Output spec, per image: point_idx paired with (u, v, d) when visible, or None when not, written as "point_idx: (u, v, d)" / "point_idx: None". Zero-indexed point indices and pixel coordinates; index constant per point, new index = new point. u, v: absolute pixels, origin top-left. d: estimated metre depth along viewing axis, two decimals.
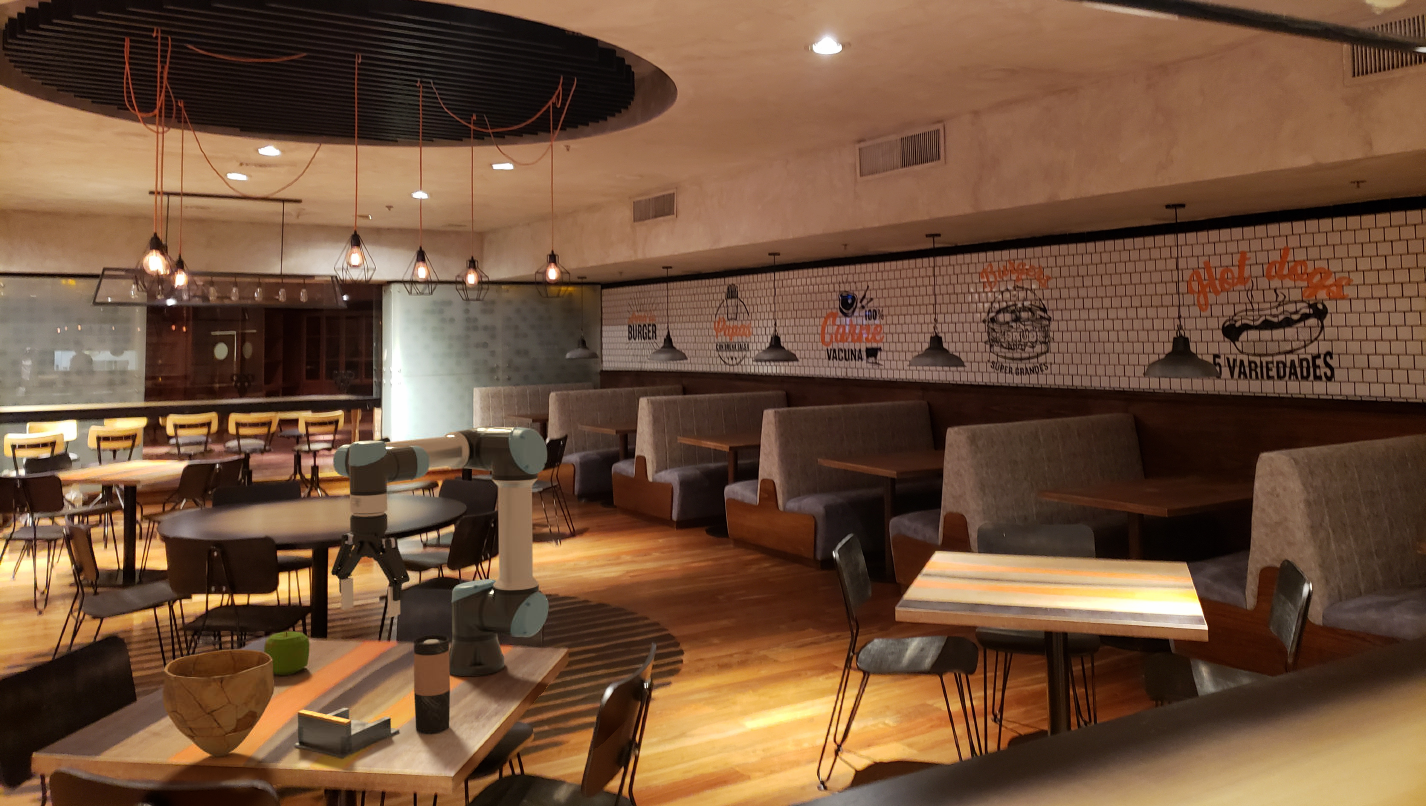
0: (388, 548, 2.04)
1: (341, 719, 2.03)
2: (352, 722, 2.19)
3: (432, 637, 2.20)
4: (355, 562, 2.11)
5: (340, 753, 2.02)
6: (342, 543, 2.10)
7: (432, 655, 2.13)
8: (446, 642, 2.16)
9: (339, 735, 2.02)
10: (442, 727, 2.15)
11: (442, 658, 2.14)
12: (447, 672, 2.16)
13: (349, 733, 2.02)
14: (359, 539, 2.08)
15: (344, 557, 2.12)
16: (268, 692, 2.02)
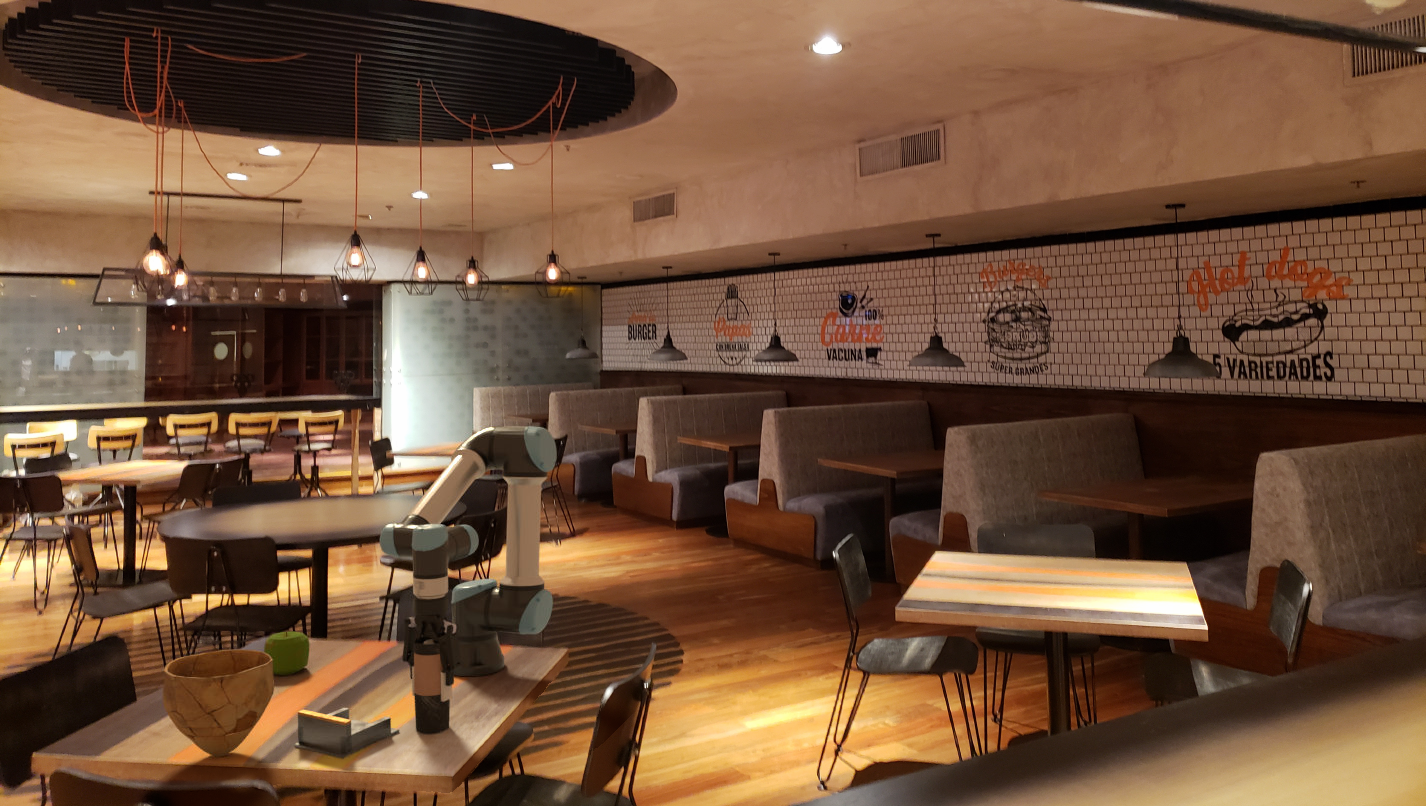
0: (449, 634, 2.12)
1: (341, 719, 2.03)
2: (352, 722, 2.19)
3: None
4: None
5: (340, 753, 2.02)
6: (406, 627, 2.18)
7: (432, 655, 2.13)
8: (446, 642, 2.15)
9: (339, 735, 2.02)
10: (442, 727, 2.15)
11: None
12: None
13: (349, 733, 2.02)
14: (421, 618, 2.16)
15: (411, 641, 2.19)
16: (268, 692, 2.02)
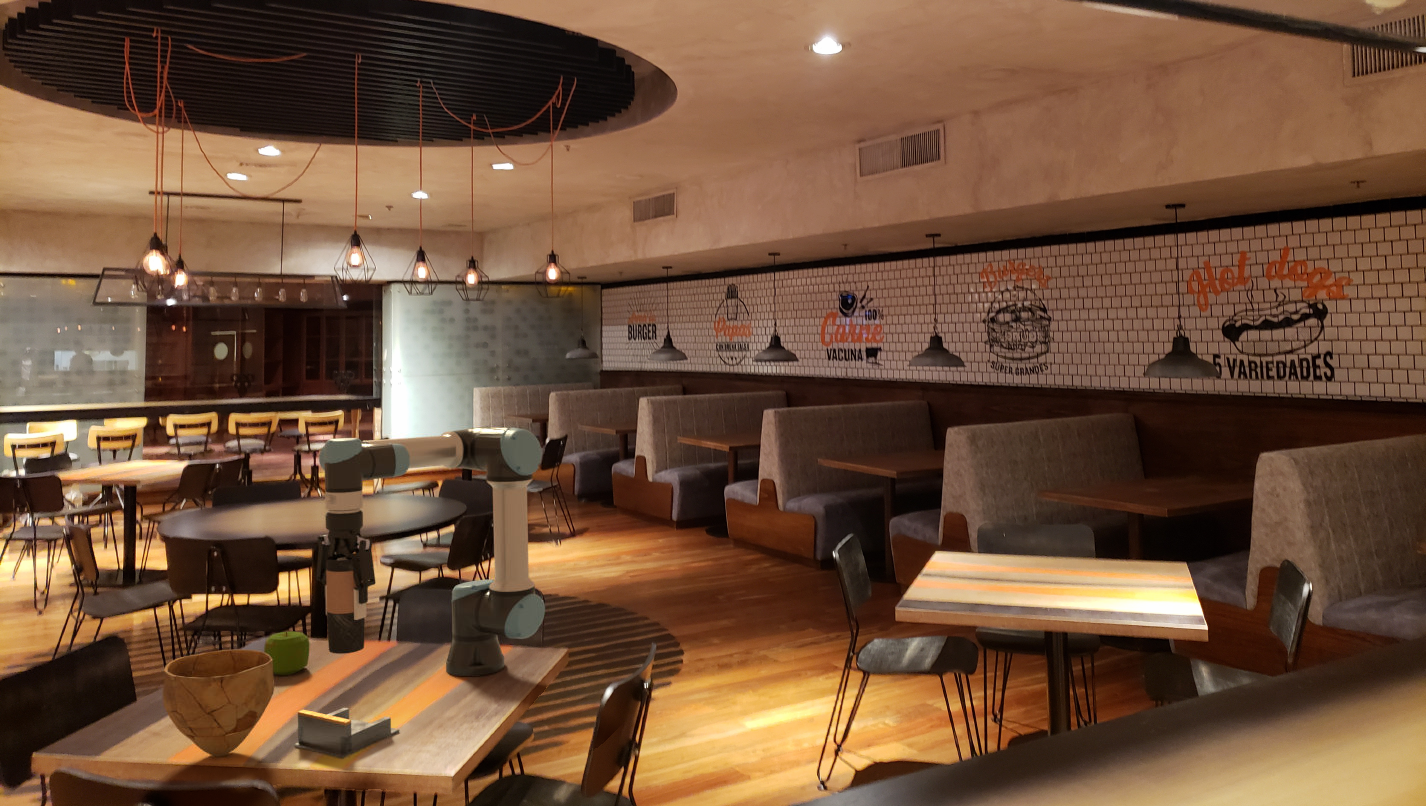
0: (361, 550, 2.05)
1: (341, 719, 2.03)
2: (352, 722, 2.19)
3: None
4: None
5: (340, 753, 2.02)
6: (319, 545, 2.11)
7: (345, 571, 2.06)
8: None
9: (339, 735, 2.02)
10: (355, 647, 2.08)
11: None
12: None
13: (349, 733, 2.02)
14: (334, 534, 2.09)
15: (325, 559, 2.12)
16: (268, 692, 2.02)
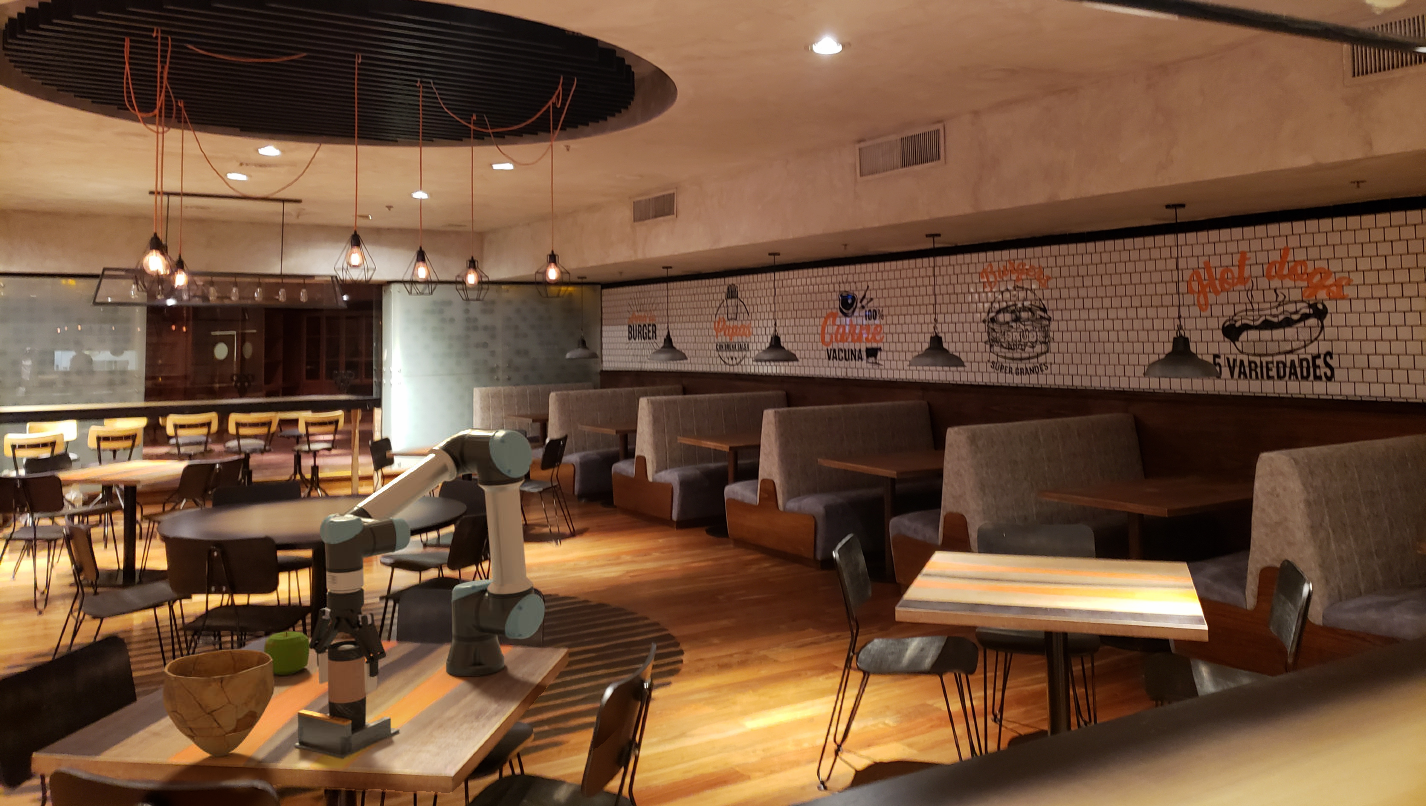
0: (364, 625, 2.06)
1: (341, 719, 2.03)
2: None
3: (348, 642, 2.13)
4: (333, 636, 2.12)
5: (340, 753, 2.02)
6: (319, 618, 2.12)
7: (346, 661, 2.07)
8: None
9: (339, 735, 2.02)
10: None
11: (356, 665, 2.08)
12: (362, 679, 2.10)
13: (349, 733, 2.02)
14: (336, 614, 2.10)
15: (321, 631, 2.13)
16: (268, 692, 2.02)
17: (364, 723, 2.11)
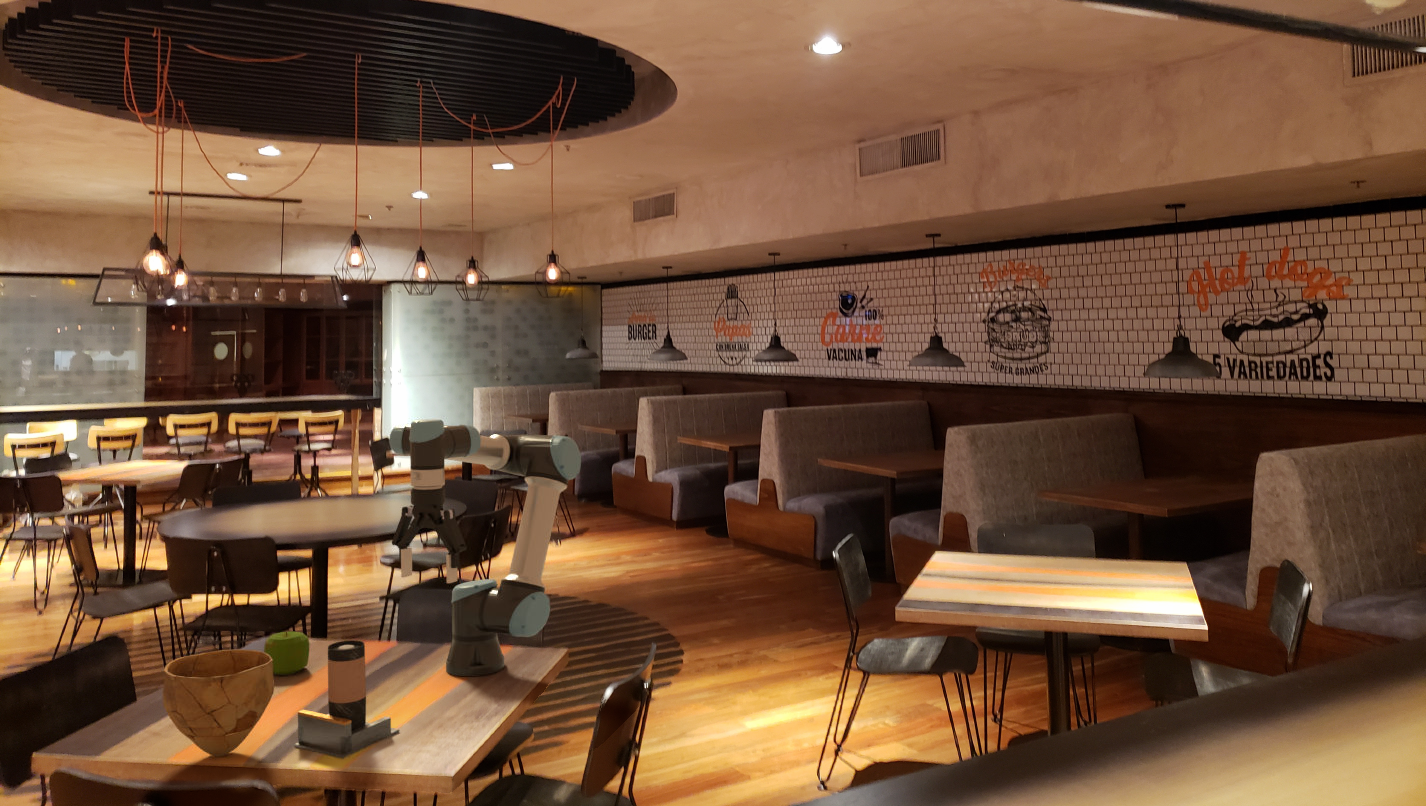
0: (447, 519, 2.19)
1: (341, 719, 2.03)
2: None
3: (348, 642, 2.13)
4: (414, 533, 2.26)
5: (340, 753, 2.02)
6: (402, 515, 2.25)
7: (346, 661, 2.07)
8: (361, 648, 2.09)
9: (339, 735, 2.02)
10: None
11: (356, 665, 2.08)
12: (362, 679, 2.10)
13: (349, 733, 2.02)
14: (419, 511, 2.23)
15: (404, 528, 2.26)
16: (268, 692, 2.02)
17: (364, 723, 2.11)
